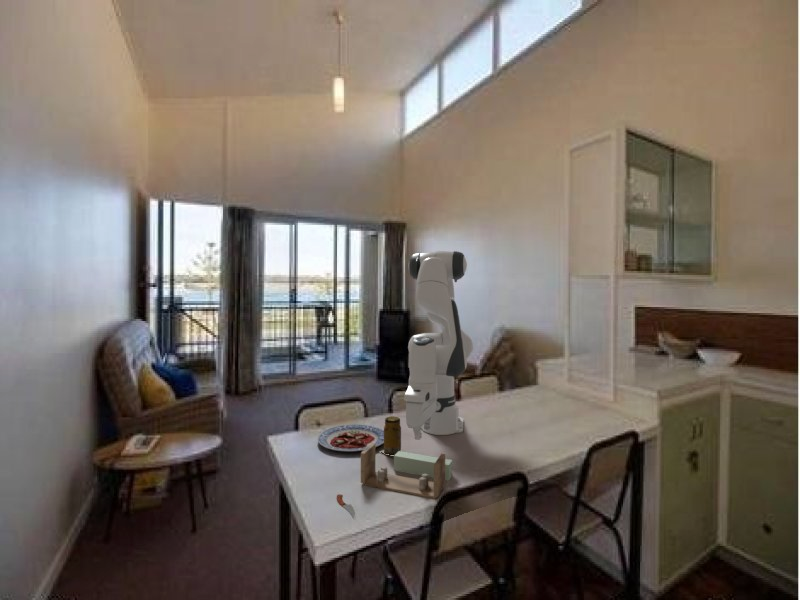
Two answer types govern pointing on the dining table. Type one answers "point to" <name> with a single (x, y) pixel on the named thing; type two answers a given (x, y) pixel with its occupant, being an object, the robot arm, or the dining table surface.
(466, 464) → the dining table surface
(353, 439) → the ceramic plate
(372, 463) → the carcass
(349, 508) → the knife
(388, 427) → the condiment
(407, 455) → the pale green rectangular block
